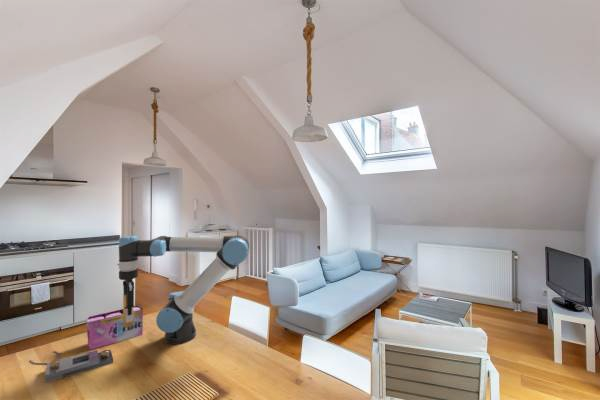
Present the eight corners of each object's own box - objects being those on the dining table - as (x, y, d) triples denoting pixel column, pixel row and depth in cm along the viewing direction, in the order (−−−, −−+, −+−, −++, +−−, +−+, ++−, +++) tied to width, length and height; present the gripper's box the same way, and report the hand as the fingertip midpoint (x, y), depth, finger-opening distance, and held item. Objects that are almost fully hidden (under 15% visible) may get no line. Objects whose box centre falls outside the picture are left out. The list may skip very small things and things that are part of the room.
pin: (132, 322, 133) (132, 293, 133) (134, 325, 130) (134, 295, 130) (122, 325, 131) (122, 295, 131) (124, 328, 128) (124, 297, 128)
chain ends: (110, 352, 131) (110, 342, 131) (113, 362, 123) (113, 351, 123) (46, 370, 117) (47, 358, 117) (45, 382, 109) (45, 370, 109)
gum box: (86, 351, 132) (87, 322, 132) (83, 345, 137) (84, 317, 137) (143, 334, 149) (143, 309, 149) (138, 329, 154) (138, 304, 154)
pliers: (51, 349, 132) (83, 356, 126) (51, 351, 132) (83, 358, 126) (26, 361, 122) (60, 369, 117) (26, 363, 122) (60, 371, 117)
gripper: (116, 267, 135) (116, 316, 135) (121, 274, 122) (121, 328, 122) (134, 265, 140) (134, 312, 140) (141, 271, 126) (141, 323, 126)
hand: (128, 319), depth 131 cm, fingers closed on pin, 4 cm apart
